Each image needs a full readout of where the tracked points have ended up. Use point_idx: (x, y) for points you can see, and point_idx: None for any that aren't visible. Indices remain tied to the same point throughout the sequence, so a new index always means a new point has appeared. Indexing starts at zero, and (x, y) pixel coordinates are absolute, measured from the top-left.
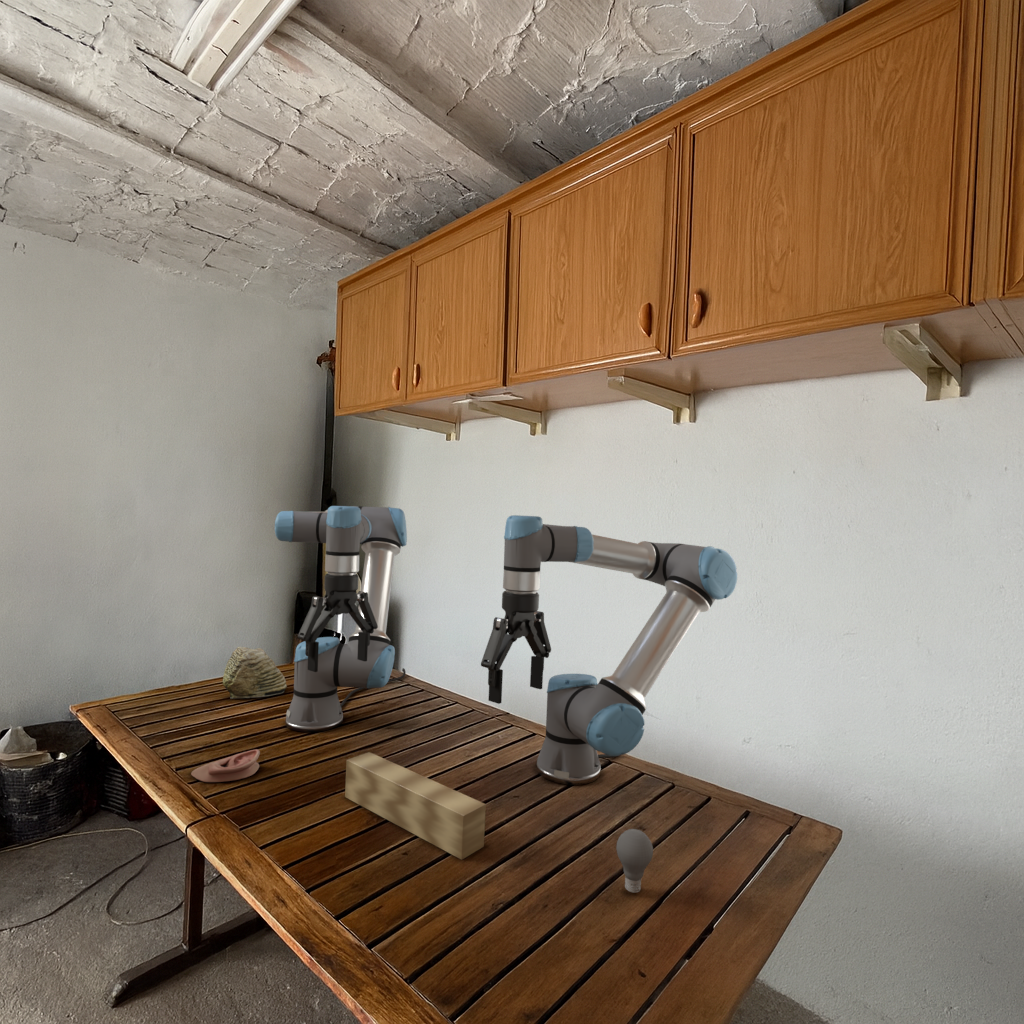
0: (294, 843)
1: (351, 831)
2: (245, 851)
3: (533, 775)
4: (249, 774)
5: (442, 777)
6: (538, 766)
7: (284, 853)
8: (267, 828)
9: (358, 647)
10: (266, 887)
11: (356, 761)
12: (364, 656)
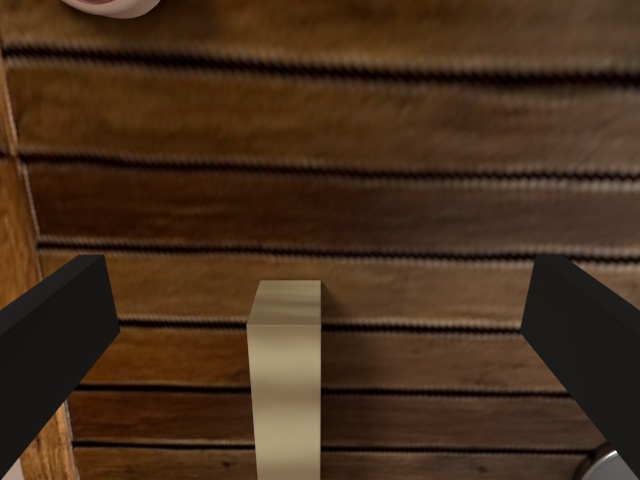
0: None
1: (198, 377)
2: None
3: (579, 447)
4: (132, 13)
5: (464, 345)
6: (601, 462)
7: None
8: None
9: (597, 311)
10: None
11: (259, 347)
12: (538, 352)
